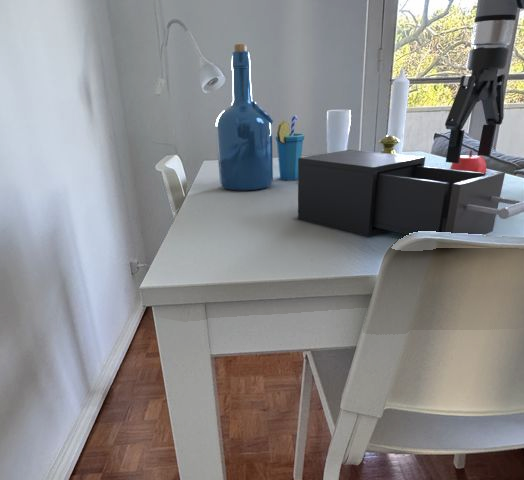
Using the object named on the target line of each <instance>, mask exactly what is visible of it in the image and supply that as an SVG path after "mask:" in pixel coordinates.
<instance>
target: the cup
mask: <svg viewBox="0 0 524 480" xmlns="http://www.w3.org/2000/svg"><path fill="white" fill-rule="evenodd" d="M297 120H299V117H298V116H297V115H295V114H292V117H291V123H290V124H289V123H288V122H287V121H286V120H282V121H281V122H280V123H279V124H278V127H277V132H276V134H275V135H274V139H275V141H276V149H277V158H278V159H277V161H278V171H279V179H280V180H281V181H298V158H301V157H303V156H302V155H303V144H304V140H305V135H304V134H303V133H295V124H296V123H295V122H296V121H297Z"/></svg>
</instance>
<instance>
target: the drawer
mask: <svg viewBox="0 0 524 480" xmlns="http://www.w3.org/2000/svg"><path fill="white" fill-rule="evenodd" d="M486 173H487V172H486ZM486 173H480V172H471V171H462V170H453V169H450V168H443V167H434V166H426V165H424V166H418V165H411V166H407V167H402V168H397V169H392V170H388V171H383V172H378V173H377V179H376V191H375V202H374V214H373V226H372V227H376V228H381V229H385V230H387V231H390V232H394V233H399V234H403V235H407V234H409V233H413V232H418V231H436V232H451V233H468V234H485V235H487V234H490V233H492V232H493V231H494V228H495V223H496V218H497V216H498V217H499V218H500V219H502V220H506V219H509V218H511V217H514V216H516V215H519V214H522V213H524V200H520V199H514V198H507V197H501V194H502V189H503V185H504V180H505V176H506V172H505V171H504V172H503V171H495V172H492V173H488V174H486ZM500 203H501V204H508V205H509V206H506V207H503V208H501V209H500V208H499V204H500Z"/></svg>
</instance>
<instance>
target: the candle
mask: <svg viewBox="0 0 524 480" xmlns="http://www.w3.org/2000/svg"><path fill="white" fill-rule="evenodd" d="M410 83H411V81H410V80H409V79H408V78H407V77H406V75H405V69H404V67H403V66H402V67H401V68H400V72H399V74H398V76H397V77H396V78H395V79H394V80H393V81H392V84H391V95H390V104H389V105H390V107H389V118H388V129H387V136H388V135H391V136H393V137H394V138H397V139H398V140H399V143H398V144H397V145H396V146H395V147H394V152H395V153H396V154H398V155H403V147H404V137H405V130H406V121H407V120H406V119H407V111H408V101H409V91H410Z"/></svg>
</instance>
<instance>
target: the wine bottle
mask: <svg viewBox="0 0 524 480" xmlns="http://www.w3.org/2000/svg"><path fill="white" fill-rule="evenodd" d="M233 48H234V51H232V53H231V68H230V69H231V70H232V102H231V105H230V106H229V107H227V108H226V109H224V110H223V111H222V112H221V113H220V114H219V115H218V117H217V118H216V122H215V132H216V147H217V163H218V172H219V173H218V175H219V184H220V185H221V187H222V188H223V189H224V190H230V191H235V192H248V191H249V192H250V191H259V190H262V189H266V188H269V187H270V186H271V185H272V184H273V182H274V167H273V165H274V161H273V159H274V158H273V123H274V122H275V121H274V119H273V118H272V117H271V115H270V114H268V113H267V111H265V109H263V108H261V106H260V105H258V103H257V102H256V101H255V100H253V90H252V87H253V86H252V75H251V69H252V63H251V57H250V51H248V50H247V49H248V47H247V44H246V43H236V44H235V45H234V47H233Z"/></svg>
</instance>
